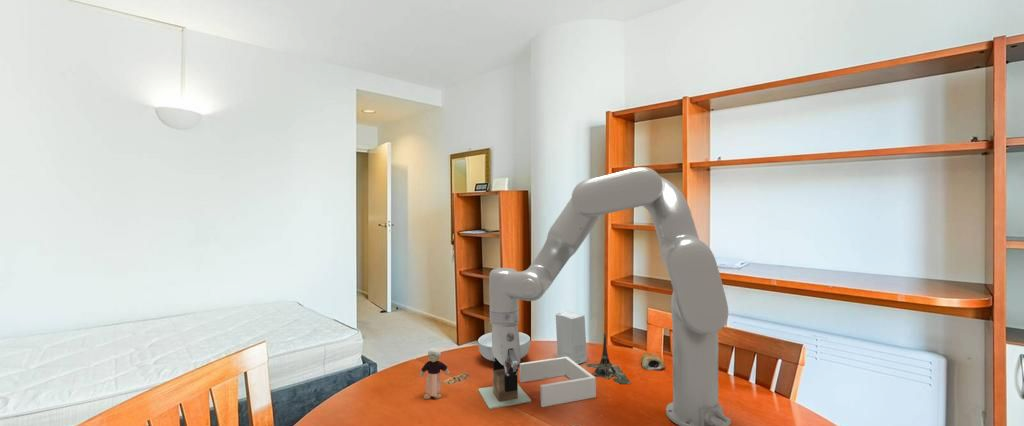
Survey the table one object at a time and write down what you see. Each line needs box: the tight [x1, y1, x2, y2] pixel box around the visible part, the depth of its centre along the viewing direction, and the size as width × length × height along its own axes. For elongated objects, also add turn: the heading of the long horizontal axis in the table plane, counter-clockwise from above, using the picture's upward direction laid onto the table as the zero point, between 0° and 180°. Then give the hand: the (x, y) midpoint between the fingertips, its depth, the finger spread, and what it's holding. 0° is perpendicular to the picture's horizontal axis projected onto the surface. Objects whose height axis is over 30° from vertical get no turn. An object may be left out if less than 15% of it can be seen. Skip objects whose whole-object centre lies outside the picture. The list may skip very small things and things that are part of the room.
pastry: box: [640, 352, 666, 371], centre depth 124 cm, size 9×7×4 cm
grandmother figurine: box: [418, 347, 450, 400], centre depth 104 cm, size 8×4×13 cm, turn 105°
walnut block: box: [492, 367, 519, 402], centre depth 103 cm, size 5×5×6 cm
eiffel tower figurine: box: [585, 332, 632, 385], centre depth 117 cm, size 15×10×13 cm
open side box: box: [519, 357, 597, 408], centre depth 108 cm, size 16×15×5 cm
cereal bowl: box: [477, 331, 531, 362], centre depth 129 cm, size 17×17×7 cm
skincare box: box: [555, 310, 588, 365], centre depth 128 cm, size 8×6×15 cm
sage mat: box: [477, 384, 532, 410], centre depth 104 cm, size 11×11×1 cm
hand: (504, 382), depth 103 cm, fingers open, 9 cm apart
